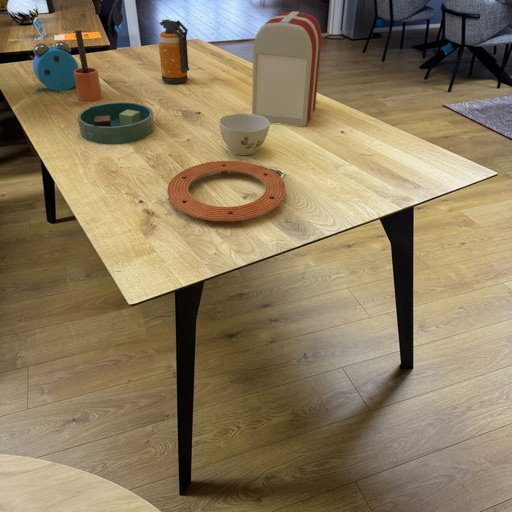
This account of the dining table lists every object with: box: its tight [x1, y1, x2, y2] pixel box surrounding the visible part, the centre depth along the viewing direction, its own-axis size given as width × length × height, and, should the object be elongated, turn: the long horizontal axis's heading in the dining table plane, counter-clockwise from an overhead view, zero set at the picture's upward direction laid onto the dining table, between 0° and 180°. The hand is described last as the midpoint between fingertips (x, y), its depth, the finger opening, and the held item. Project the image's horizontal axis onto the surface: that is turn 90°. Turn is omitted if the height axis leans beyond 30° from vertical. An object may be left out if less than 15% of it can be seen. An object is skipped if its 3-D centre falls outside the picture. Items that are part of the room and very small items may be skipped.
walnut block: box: [94, 116, 112, 127], centre depth 128 cm, size 4×4×4 cm
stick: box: [74, 29, 89, 73], centre depth 147 cm, size 2×2×20 cm
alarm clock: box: [32, 40, 80, 92], centre depth 156 cm, size 13×6×15 cm, turn 125°
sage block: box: [119, 110, 141, 126], centre depth 132 cm, size 4×4×4 cm
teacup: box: [218, 112, 271, 156], centre depth 121 cm, size 15×12×8 cm
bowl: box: [76, 101, 155, 145], centre depth 130 cm, size 20×20×5 cm
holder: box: [73, 67, 103, 103], centre depth 150 cm, size 7×7×9 cm
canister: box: [158, 19, 190, 85], centre depth 164 cm, size 9×11×20 cm
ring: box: [166, 160, 287, 224], centre depth 103 cm, size 25×25×2 cm
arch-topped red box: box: [251, 10, 322, 127], centre depth 137 cm, size 16×18×27 cm
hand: (75, 13), depth 138 cm, fingers open, 13 cm apart
